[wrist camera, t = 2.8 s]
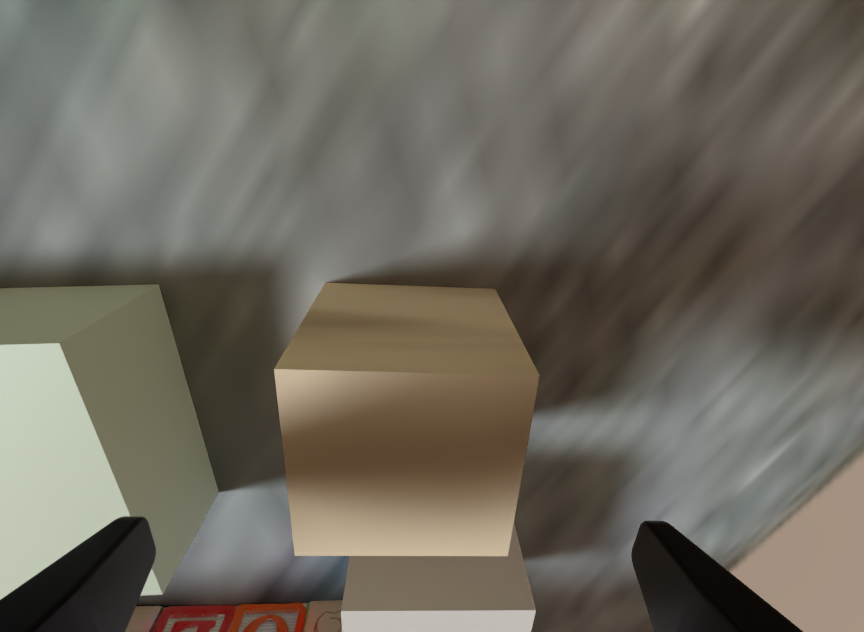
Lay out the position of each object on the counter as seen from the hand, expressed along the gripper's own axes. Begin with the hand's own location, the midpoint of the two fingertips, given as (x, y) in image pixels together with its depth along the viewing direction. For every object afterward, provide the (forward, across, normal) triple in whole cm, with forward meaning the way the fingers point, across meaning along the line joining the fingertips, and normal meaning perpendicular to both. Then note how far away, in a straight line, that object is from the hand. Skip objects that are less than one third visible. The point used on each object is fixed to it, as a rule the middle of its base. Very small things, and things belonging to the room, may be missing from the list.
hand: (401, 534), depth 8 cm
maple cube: (+6, 0, 0) cm, 6 cm away
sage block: (+7, +11, +2) cm, 13 cm away
